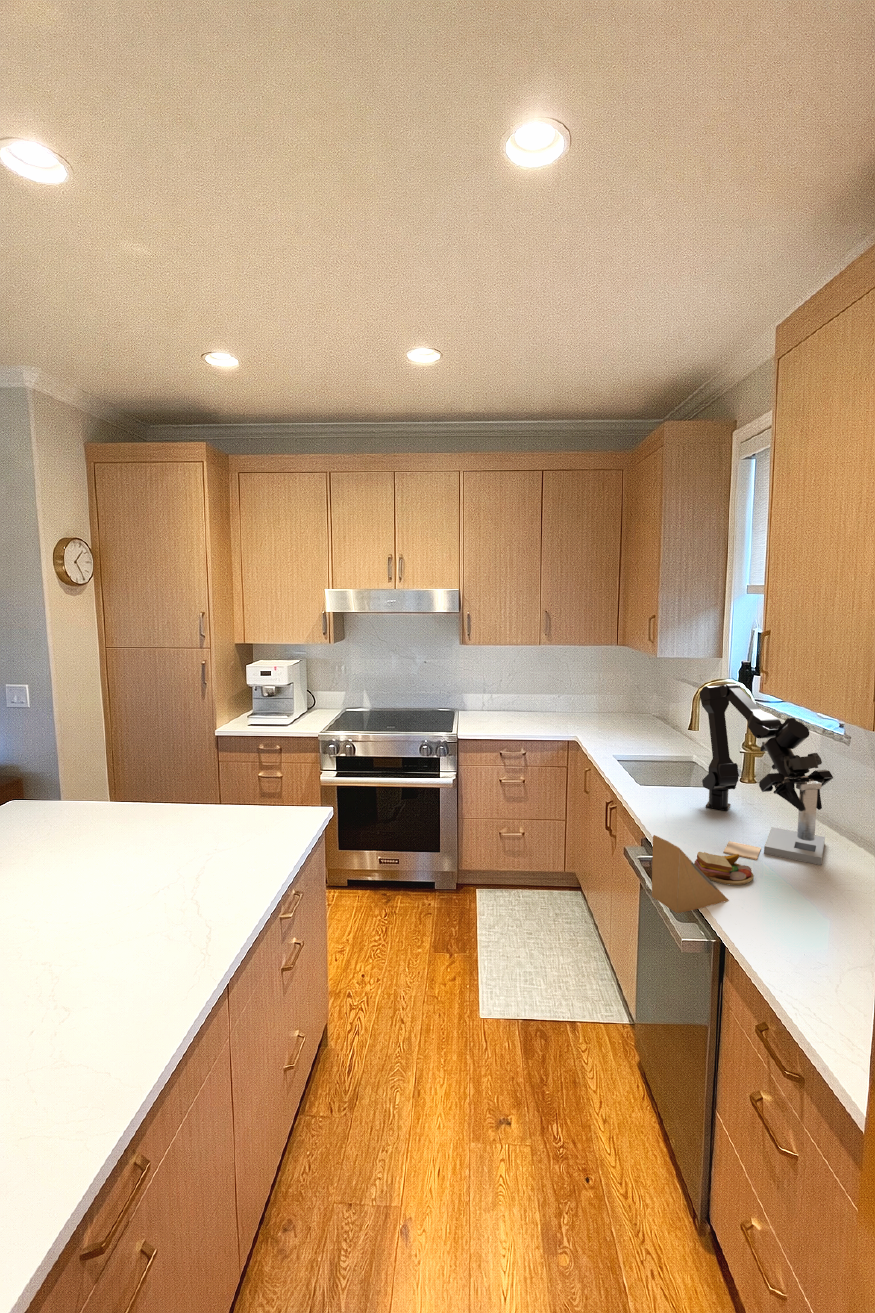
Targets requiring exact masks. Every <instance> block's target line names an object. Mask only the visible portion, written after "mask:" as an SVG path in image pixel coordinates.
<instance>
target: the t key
mask: <svg viewBox="0 0 875 1313" xmlns="http://www.w3.org/2000/svg"><path fill="white" fill-rule="evenodd" d="M821 786H822V783H820V782H817V781H811V782H797V783H796V784H795V788H796V789H797V790H799V795H798V797H799V799H800V801H801V803H802V805H803V808H804V810H803V811H800V810H797V811H798V812H797V813H798V814H797V829H796V832H797V837H798V838H800V839H802V840H806V841H813V840H815V835H816V824H817V823H816V820H817V791H818V789H820V790H821V789H822V787H823V786H822V787H821Z"/></svg>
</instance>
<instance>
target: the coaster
mask: <svg viewBox="0 0 875 1313" xmlns="http://www.w3.org/2000/svg"><path fill="white" fill-rule="evenodd" d="M761 850H762V847H760V846H759V847H758V846H756V845H755V846H754V845H750V844H744V843H741V842H734V841H730V840H729V841H728V842H727V844H726V846H725V848H724V849H723V854H729V855H735V854H739V857H742V858H746V859H749V860H750V859H751V860H755V861H756V860H758V857H759V856H760V853H761Z"/></svg>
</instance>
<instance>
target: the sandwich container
mask: <svg viewBox="0 0 875 1313" xmlns="http://www.w3.org/2000/svg"><path fill="white" fill-rule="evenodd" d="M694 863H695V862H693V861H692V860H691V859H690V857H688V855H686V853H685V852H684V851H683V850H682V849H681V848H680V847H678V846H677V845H676V844H674V843H672V842H670V841H668V840H666V839H664V838H661V837H660V836H658V835H655V834H653V836H652V865H651V866H652V869H651V897H652V898H653V899H655V900H656V901H657V902H659V903H661V904H662V905H664V906H665V907H667V908H668V909H670V910H672V911H673V912H675V913H676V914H680V913H685V912H689V911H694V910H699V909H702V908H706V907H709V906H714V905H717V904H721V903H725V902H728V901H729V898H727V896H725V894H723V892H721V891H720V889H719V888H718V887H717V886H716V885H715V884H714V883H713V882H712V880H710V879H708V878H707V877H706V876H705V875H704V874H703V873H702V872H701V871H700V870H699V869H698V868H697V867H696V865H695V864H694ZM724 901H725V902H724Z"/></svg>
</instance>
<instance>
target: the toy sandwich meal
mask: <svg viewBox="0 0 875 1313" xmlns="http://www.w3.org/2000/svg"><path fill="white" fill-rule="evenodd" d="M739 858H740V856H739V854H735V855H732V854H729V855H716V854H712V853H708V852H705V851H704V852H703V851H698V852H697V853H696V859H695V860H694V862H693V863H694V864H695V865H696V867H697V868H698V869H699V870H700V871H701V872H702V873H703V874H704V875H705V876H706V877H707V878H708V879H709V880H710V881H711V882H712V881H713V882H715V883H719V884H721V885H722V884H723V885H727V884H730V885H729V886H742V885H746V884H748V883H749V882H751V881H753V879H754V876H755V875H754V873H753V872H752V868H751V866H748V865H745V864H744V865H742V864H739V863H738V862H737V861H738V860H739Z"/></svg>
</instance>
